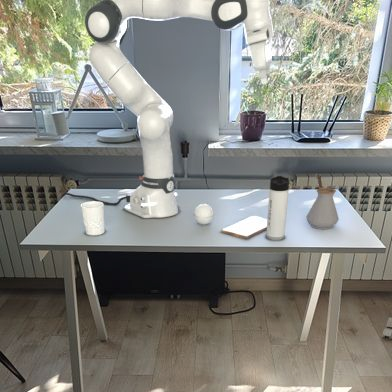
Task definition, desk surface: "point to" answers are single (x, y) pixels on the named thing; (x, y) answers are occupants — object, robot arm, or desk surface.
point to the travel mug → (277, 208)
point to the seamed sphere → (203, 214)
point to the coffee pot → (323, 208)
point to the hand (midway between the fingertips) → (266, 82)
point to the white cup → (93, 217)
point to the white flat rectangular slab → (247, 227)
